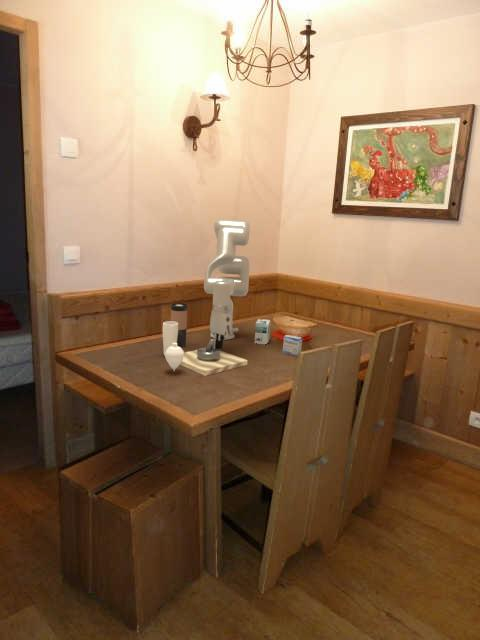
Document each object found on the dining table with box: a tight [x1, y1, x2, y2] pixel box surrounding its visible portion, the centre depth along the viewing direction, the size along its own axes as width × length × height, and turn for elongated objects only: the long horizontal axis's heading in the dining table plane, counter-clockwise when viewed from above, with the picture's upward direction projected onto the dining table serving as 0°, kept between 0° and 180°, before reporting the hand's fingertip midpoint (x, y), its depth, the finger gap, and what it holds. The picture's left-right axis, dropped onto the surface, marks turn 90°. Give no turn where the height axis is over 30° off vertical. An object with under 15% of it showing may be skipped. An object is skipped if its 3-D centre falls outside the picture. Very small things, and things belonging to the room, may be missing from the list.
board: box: [179, 349, 248, 377], centre depth 200 cm, size 24×24×2 cm
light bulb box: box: [254, 318, 271, 345], centre depth 238 cm, size 11×7×11 cm, turn 171°
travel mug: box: [170, 302, 188, 348], centre depth 221 cm, size 8×8×20 cm
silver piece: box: [196, 338, 221, 361], centre depth 204 cm, size 19×10×5 cm, turn 176°
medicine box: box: [282, 334, 303, 357], centre depth 219 cm, size 8×4×9 cm, turn 62°
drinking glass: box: [162, 320, 178, 357], centre depth 205 cm, size 7×7×15 cm
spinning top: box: [164, 343, 185, 372], centre depth 185 cm, size 8×8×12 cm
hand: (218, 348), depth 210 cm, fingers closed
